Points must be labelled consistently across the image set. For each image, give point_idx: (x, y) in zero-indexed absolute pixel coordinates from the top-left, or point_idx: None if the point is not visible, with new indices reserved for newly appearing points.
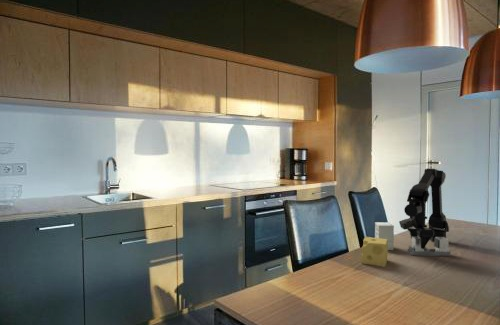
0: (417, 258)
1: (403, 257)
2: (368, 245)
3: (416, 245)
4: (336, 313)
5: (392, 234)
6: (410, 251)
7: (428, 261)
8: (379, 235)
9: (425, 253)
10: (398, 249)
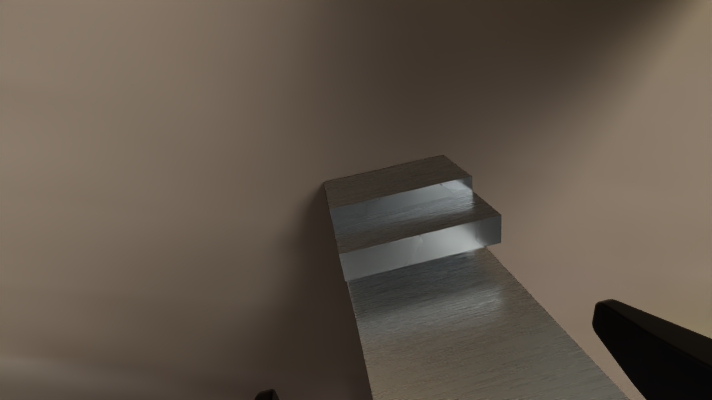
0: (197, 239)
1: (151, 35)
2: None
3: (365, 355)
4: None
5: None
6: (356, 195)
7: (121, 337)
8: None
9: None
10: (595, 44)
